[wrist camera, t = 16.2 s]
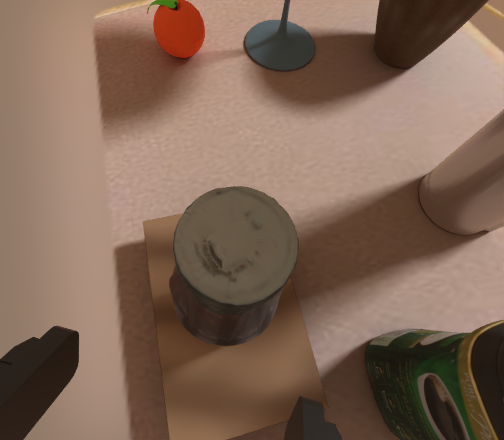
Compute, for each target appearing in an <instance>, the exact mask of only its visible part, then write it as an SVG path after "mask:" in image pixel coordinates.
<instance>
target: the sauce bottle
mask: <svg viewBox="0 0 504 440" xmlns="http://www.w3.org/2000/svg"><path fill="white" fill-rule="evenodd" d="M173 251H174V257H175V263H176V265H175V267H174V270H173V274H172V276H171V277H170V279H169V287H170V291H171V295H172V298H173V302H174V307H175V311H176V314H177V316H178V318H179V320H180V322H181V324H182V325H183V326H184V328H185V329H186V330H187V331H188V332H189V333H191V334H192V335H193V336H194V337H196V338H197V339H199V340H201V341H203V342H205V343H207V344H212V345H215V346H235V345H239V344H243V343H246V342H248V341H250V340H252V339H254V338H255V337H257V336H258V335H260V334H261V333H262V332H263V331H264V330H265V329H266V328H267V327H268V325H269V324H270V322H271V321H272V319H273V317H274V315H275V311H276V308H277V305H278V302H279V299H280V296H281V293H282V290H283V287H284V285H285V284H286V283H287V281H288V280H289V278H290V276H291V274H292V272H293V269H294V267H295V264H296V261H297V255H298V238H297V232H296V229H295V226H294V224H293V222H292V220H291V218H290V217H289V215H288V213H287V212H286V211H285V209H284V208H283V207H282V206H280V205H279V204H278V203H277V201H276V200H275V199H274V198H271V197H269V196H268V195H266V194H265V193H263V192H260V191H258V190H255V189H252V188H248V187H241V186H238V187H227V188H218V189H214V190H212V191H209V192H207V193H205V194H203V195H202V196H200V197H199V198H197V199H196V200H195V201H194V202H193V203H192V204H191V205H190V206H189V207H188V208H187V209H186V211H185V212H184V214H183V215H182V217H181V218H180V219H179V222H178V224H177V227H176V230H175V233H174V242H173Z"/></svg>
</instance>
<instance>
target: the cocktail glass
mask: <svg viewBox="0 0 504 440" xmlns="http://www.w3.org/2000/svg"><path fill="white" fill-rule="evenodd" d="M289 5H290V0H285V3H284V8H283V13H282V18H281V20H268V21H264V22H261V23H259V24H257V25H255V26H254V27H252V28H251V29H250V30H249V32H248V33H247V35H246V39H245V46H246V50H247V52H248V54H249V55H250V56H251V58H252V59H253V60H254V61H256V62H257V63H258V64H260V65H262V66H264V67H266V68H269V69H272V70H278V71H290V70H295V69H298V68H301V67H303V66H304V65H306V64H307V63H308V62H309V61H310V60H311V59H312V57H313V55H314V51H315V45H314V41H313V39H312V37H311V36H310V34H309V33H308V32H307V31H306V30H305V29H303V28H302V27H300V26H298V25H296V24H294V23H291V22H288V21H287V19H288V11H289Z"/></svg>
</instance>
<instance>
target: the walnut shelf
mask: <svg viewBox="0 0 504 440" xmlns="http://www.w3.org/2000/svg"><path fill="white" fill-rule="evenodd" d="M183 214H184V213H183ZM183 214H178V215H173V216H168V217H163V218H157V219H152V220H147V221H143V227H144V235H145V243H146V251H147V260H148V268H149V276H150V284H151V292H152V300H153V308H154V316H155V324H156V332H157V341H158V349H159V357H160V365H161V373H162V381H163V389H164V397H165V405H166V413H167V421H168V430H169V438H170V440H227V439H230V438H233V437H237V436H240V435H243V434H246V433H249V432H253V431H256V430H259V429H262V428H266V427H269V426H272V425H275V424H278V423H282V422H285V421H288V420H289V419H290V417H291V414H292V412H293V409H294V407H295V405H296V402H297V400H298V398H299V396H303V397H307V398H310V399H314V400H317V401H321V402H322V404H323V409H326V408H329V407H328V403H327V400H326V397H325V393H324V390H323V386H322V383H321V379H320V376H319V373H318V369H317V366H316V362H315V359H314V355H313V352H312V348H311V345H310V342H309V338H308V335H307V331H306V328H305V324H304V321H303V318H302V314H301V311H300V307H299V304H298V300H297V297H296V294H295V290H294V287H293V283H292V280H291V276H290V278H289V280H288V281H287V283H286V284H285V285H284V287H283V290H282V293H281V296H280V299H279V302H278V305H277V308H276V311H275V315H274V317H273V319H272V321H271V322H270V324H269V325H268V327H267V328H266V329H265V330H264V331H263V332H262V333H261V334H260V335H258V336H257V337H255V338H254V339H252V340H250V341H248V342H246V343H243V344H239V345H235V346H215V345H212V344H207V343H205V342H203V341H201V340H199V339H197V338H196V337H194V336H193V335H192V334H191V333H189V332H188V331H187V330H186V329H185V328H184V326H183V325H182V324H181V322H180V320H179V318H178V316H177V314H176V311H175V307H174V302H173V298H172V295H171V291H170V287H169V279H170V277H171V276H172V274H173V270H174V267H175V265H176V263H175V257H174V251H173V242H174V233H175V230H176V227H177V224H178V222H179V219H180V218H181V217H182V215H183Z"/></svg>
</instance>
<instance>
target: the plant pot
mask: <svg viewBox="0 0 504 440" xmlns="http://www.w3.org/2000/svg"><path fill="white" fill-rule="evenodd" d="M487 1H488V0H380V2H379V8H378V15H377V23H376V32H375V47H374V48H375V52H376V54H377V55H378V57H379V58H380V59H381V60H382V61H384V62H385V63H387V64H389V65H391V66H394V67H399V68H408V67H412V66H414V65H416V64H417V63H418V62H420V61H421V60H422V59H424V58H425V57H426V56H428V55H429V54H430V53H431V52H433V51H434V50H435V49H436V48H438V47H439V46H440V45H441V44H442V43H444V42H445V41H446V40H447V39H448V38H449V37H451V36H452V35H453V34H454V33H455V32H456V31H457V30H458V29H459V28H461V27H462V26H463V25H464V24H465V23H466V22H467V21H468V20H469V19H470V18H471V17H472V16H473V15H474V14H475V13H476V12H477V11H478V10H479V9H480V8H481V7H482V6H483V5H484V4H485V3H486V2H487Z"/></svg>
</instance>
